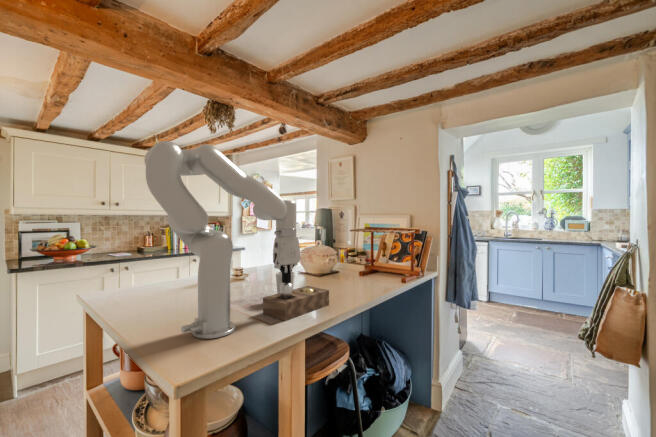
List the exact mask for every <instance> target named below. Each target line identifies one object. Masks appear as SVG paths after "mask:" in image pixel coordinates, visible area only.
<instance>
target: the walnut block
mask: <svg viewBox="0 0 656 437" xmlns="http://www.w3.org/2000/svg"><path fill="white" fill-rule="evenodd" d="M304 288H313V289H314V292H312V293H309V294H308V293H304V292H303V289H304ZM329 305H330V289H326V288H320V287H316V286H315V287H314V286H309V285H305V286H301V287H298V288H293V290H292V299H288V300H283V299H280V293H278V294H277V293H276V294H270V295H268V296H264V297H262V314H263V315H265V314H266V316H268V315H269V316H268V317H271V316H272V318H274V317H275V318H274V319H277V318H278V319H277V320H280V319H281V320H280V321H283V322H287V321H289V320H292V319H295V318H297V317H300V316H303V315H306V314H309V313H312V312H314V311H316V310H319V309H322V308H324V307H327V306H329Z"/></svg>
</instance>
